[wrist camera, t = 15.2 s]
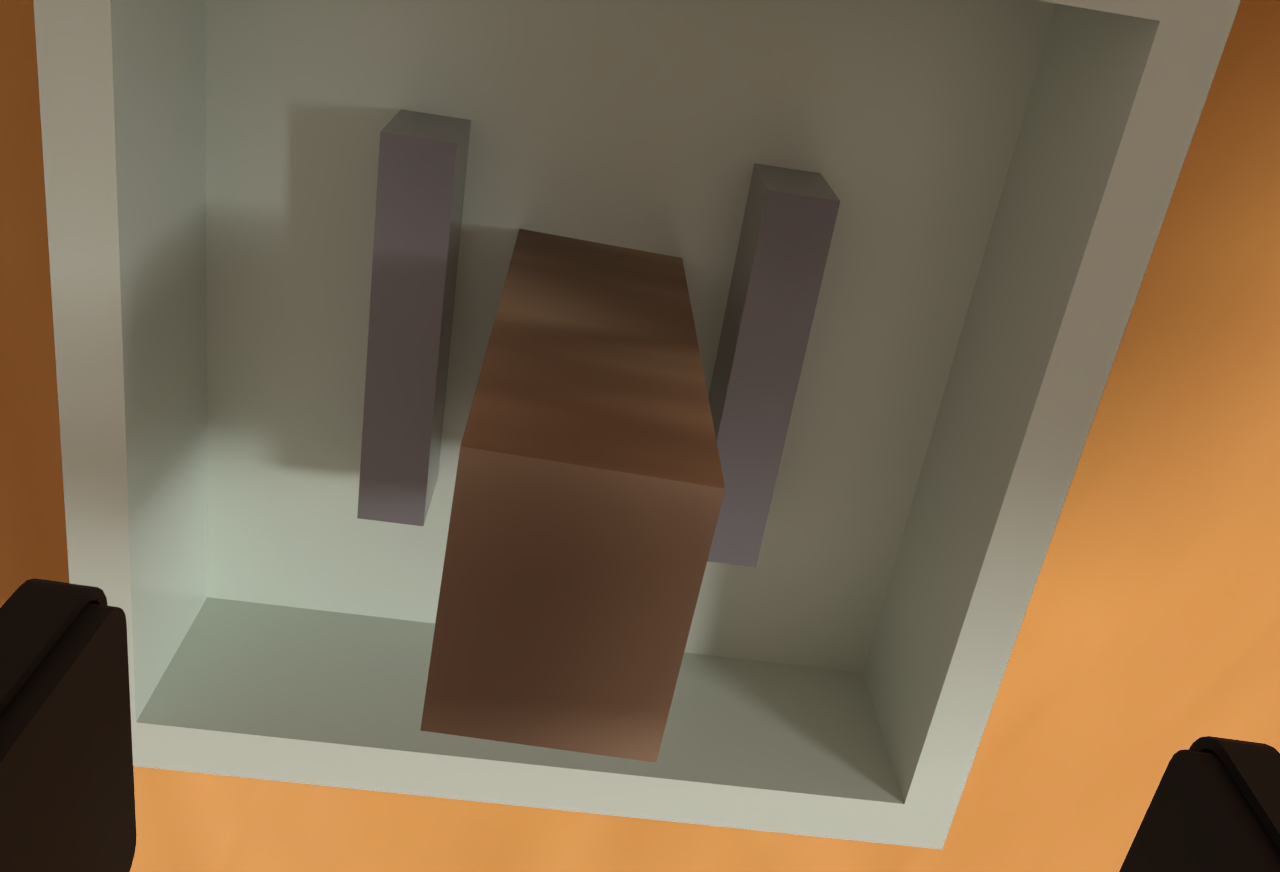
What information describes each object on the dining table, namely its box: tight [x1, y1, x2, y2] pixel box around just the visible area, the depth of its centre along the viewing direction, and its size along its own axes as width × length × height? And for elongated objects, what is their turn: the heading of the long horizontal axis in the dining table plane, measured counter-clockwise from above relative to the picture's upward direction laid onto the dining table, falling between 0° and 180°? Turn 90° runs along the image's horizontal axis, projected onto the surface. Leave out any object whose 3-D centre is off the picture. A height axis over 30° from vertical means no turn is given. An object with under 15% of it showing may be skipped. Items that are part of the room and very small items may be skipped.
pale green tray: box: [33, 0, 1241, 849], centre depth 20 cm, size 16×16×5 cm
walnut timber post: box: [420, 229, 725, 763], centre depth 18 cm, size 3×4×9 cm
